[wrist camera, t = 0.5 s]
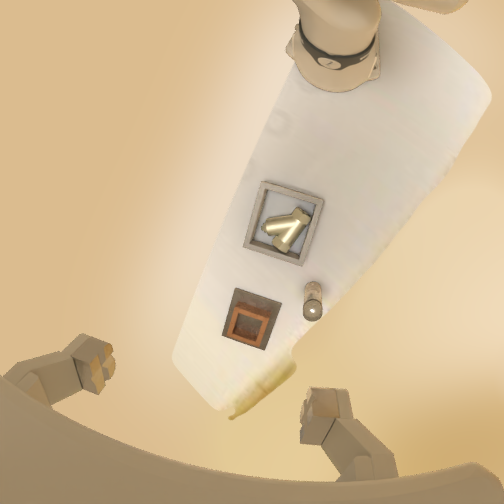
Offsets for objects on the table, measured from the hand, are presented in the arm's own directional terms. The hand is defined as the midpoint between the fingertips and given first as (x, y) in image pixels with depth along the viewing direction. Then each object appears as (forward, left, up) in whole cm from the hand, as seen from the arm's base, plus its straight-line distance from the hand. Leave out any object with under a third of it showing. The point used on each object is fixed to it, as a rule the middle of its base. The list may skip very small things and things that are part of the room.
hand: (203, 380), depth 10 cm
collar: (+23, -2, -46) cm, 52 cm away
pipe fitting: (+1, -1, -47) cm, 47 cm away
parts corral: (+1, -1, -46) cm, 46 cm away
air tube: (+12, +8, -46) cm, 49 cm away
